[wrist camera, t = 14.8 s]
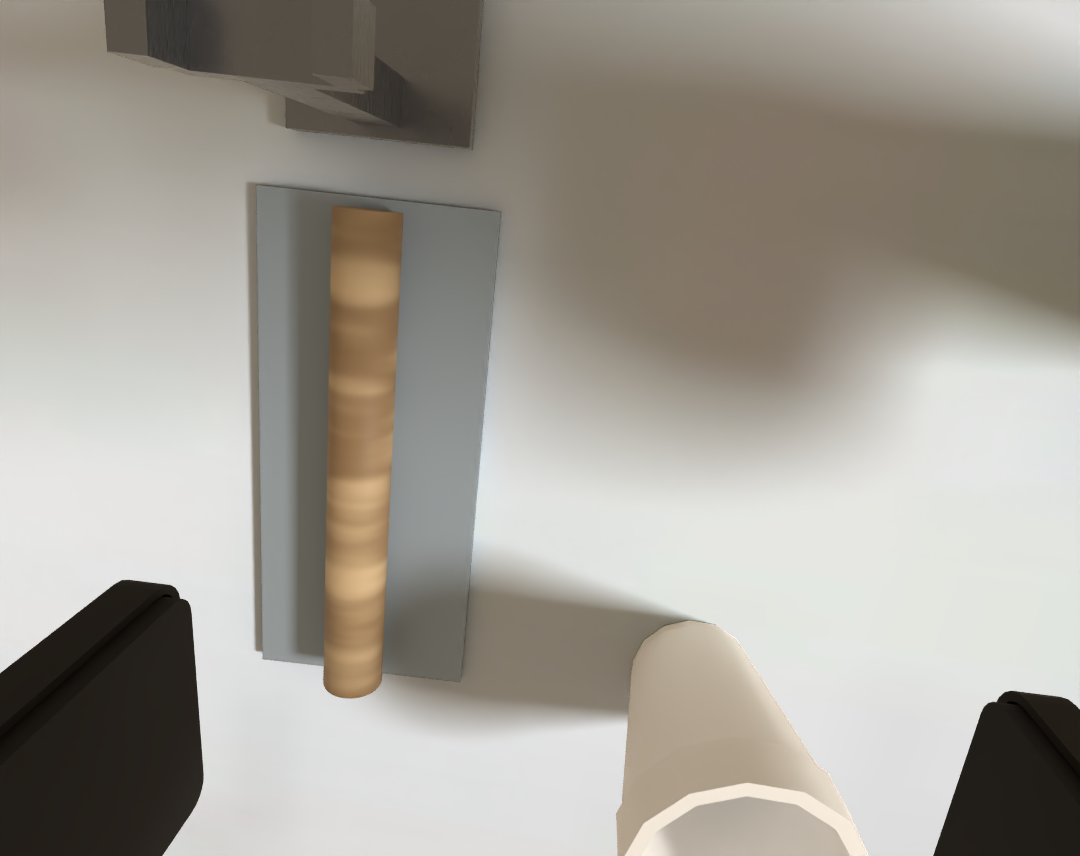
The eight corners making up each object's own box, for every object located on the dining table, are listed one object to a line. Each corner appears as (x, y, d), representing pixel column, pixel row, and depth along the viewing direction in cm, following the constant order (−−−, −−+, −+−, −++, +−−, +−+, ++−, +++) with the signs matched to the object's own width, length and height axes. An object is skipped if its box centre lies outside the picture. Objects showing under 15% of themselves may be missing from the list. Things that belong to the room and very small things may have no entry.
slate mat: (500, 211, 33) (499, 211, 32) (461, 675, 40) (460, 681, 40) (261, 185, 33) (256, 184, 32) (267, 652, 40) (262, 659, 40)
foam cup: (588, 724, 41) (596, 952, 28) (621, 582, 38) (645, 765, 26) (752, 752, 41) (832, 991, 28) (796, 612, 38) (906, 809, 26)
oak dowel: (347, 206, 32) (320, 205, 29) (411, 213, 32) (390, 213, 29) (336, 658, 40) (314, 692, 37) (389, 666, 39) (370, 702, 36)
